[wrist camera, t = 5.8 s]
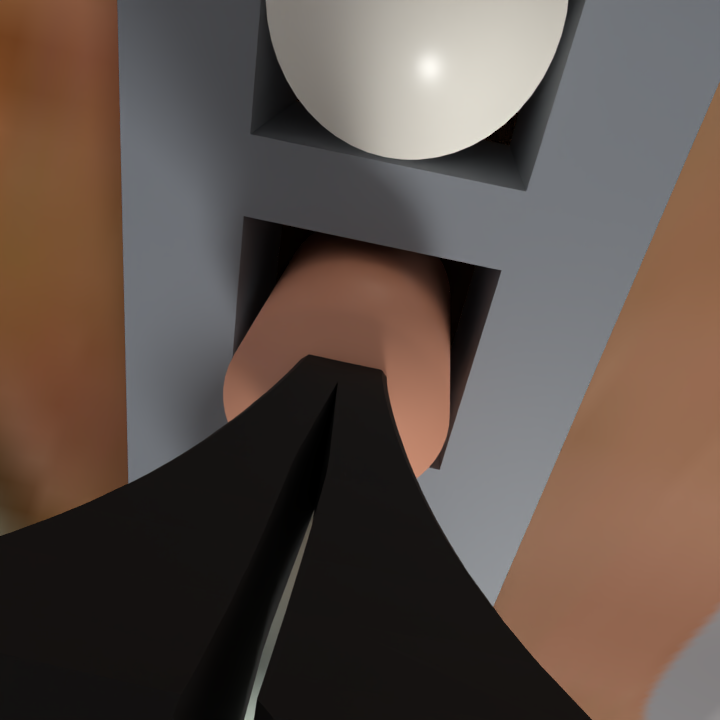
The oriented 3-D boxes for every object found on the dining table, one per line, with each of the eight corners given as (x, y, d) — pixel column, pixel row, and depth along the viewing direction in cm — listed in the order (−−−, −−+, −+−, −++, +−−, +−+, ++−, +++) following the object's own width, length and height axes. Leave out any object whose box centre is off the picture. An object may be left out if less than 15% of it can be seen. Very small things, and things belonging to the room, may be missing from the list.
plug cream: (313, 87, 13) (252, 129, 9) (343, -146, 11) (281, -221, 7) (497, 125, 13) (516, 184, 9) (559, -103, 11) (618, -155, 7)
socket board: (179, 542, 21) (132, 638, 18) (211, -378, 10) (104, -542, 7) (449, 602, 21) (448, 710, 18) (776, -271, 10) (921, -389, 7)
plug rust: (276, 350, 16) (217, 474, 12) (295, 200, 14) (230, 286, 10) (429, 384, 15) (420, 519, 12) (469, 236, 14) (476, 338, 10)
